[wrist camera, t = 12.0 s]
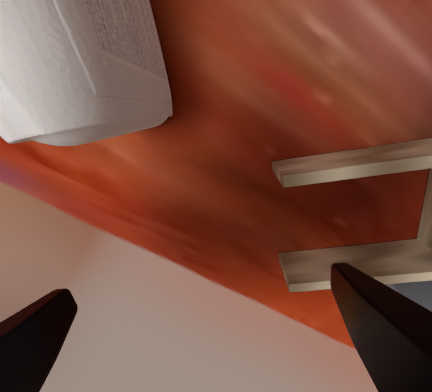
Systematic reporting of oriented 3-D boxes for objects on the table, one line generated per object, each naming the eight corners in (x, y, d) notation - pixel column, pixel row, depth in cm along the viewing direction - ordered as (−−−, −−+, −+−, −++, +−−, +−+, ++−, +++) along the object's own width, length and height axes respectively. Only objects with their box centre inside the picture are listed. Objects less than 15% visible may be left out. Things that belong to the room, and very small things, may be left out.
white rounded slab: (75, -36, 14) (-611, -670, 3) (139, -56, 14) (-350, -954, 2) (128, 132, 18) (-55, 180, 6) (181, 121, 17) (87, 152, 6)
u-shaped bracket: (447, 135, 17) (510, 144, 13) (425, 245, 20) (469, 277, 16) (271, 161, 18) (283, 175, 14) (278, 259, 21) (289, 292, 18)
